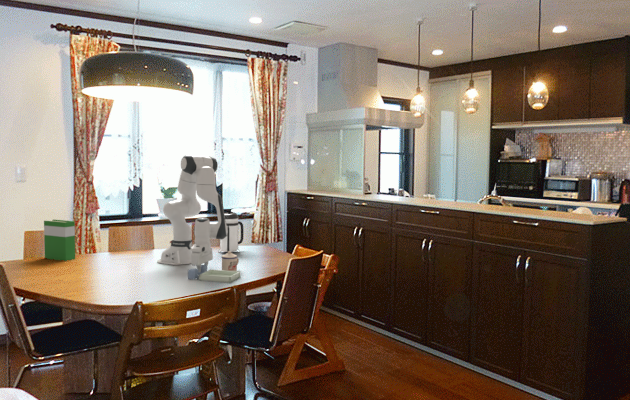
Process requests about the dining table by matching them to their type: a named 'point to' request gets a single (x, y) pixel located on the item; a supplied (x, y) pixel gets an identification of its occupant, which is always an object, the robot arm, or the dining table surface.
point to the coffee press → (231, 233)
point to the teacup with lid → (229, 262)
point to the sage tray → (219, 276)
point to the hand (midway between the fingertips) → (202, 270)
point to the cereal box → (59, 239)
